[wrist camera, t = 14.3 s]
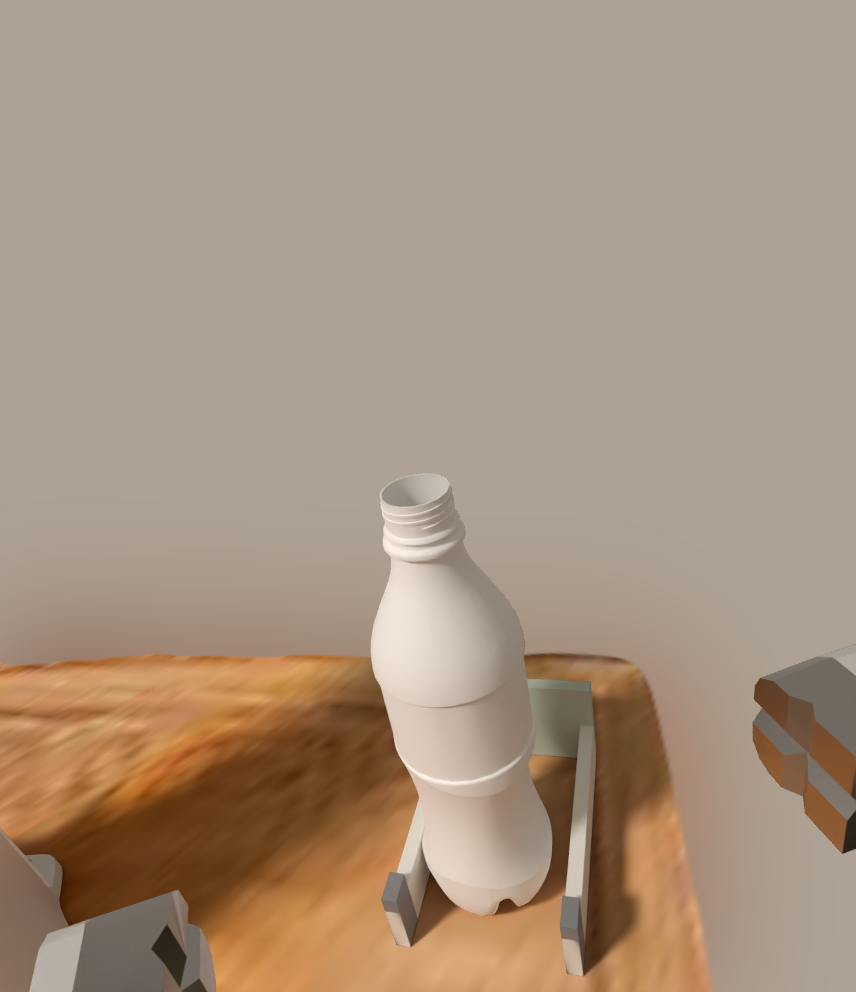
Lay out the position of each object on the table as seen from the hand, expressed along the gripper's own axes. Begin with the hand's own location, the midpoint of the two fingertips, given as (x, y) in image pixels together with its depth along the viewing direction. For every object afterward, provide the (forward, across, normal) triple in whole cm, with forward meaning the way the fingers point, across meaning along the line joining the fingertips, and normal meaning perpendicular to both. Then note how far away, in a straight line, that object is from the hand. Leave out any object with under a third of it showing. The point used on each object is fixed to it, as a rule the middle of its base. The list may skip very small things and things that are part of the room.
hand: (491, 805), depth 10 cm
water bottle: (+19, -3, +30) cm, 36 cm away
